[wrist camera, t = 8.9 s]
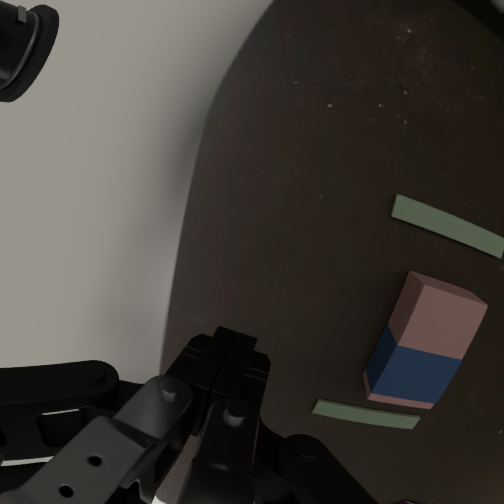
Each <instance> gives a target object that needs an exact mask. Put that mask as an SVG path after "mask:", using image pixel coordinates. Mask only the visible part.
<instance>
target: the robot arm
mask: <svg viewBox="0 0 504 504" xmlns="http://www.w3.org/2000/svg"><path fill="white" fill-rule="evenodd" d="M41 29H42V18H41V16H40V15H39V14H36V13H34V12H29V11H26V8H25V7H22V6H20V5H19V7H16V6H14V5H11V4H9V3H6V2H3V1H0V90H5V89H7V88H8V87H9V86H11V85H12V84H13V83H14V82H15V81H16V79H17V78H18V77H19V76H20V74H21V73H22V71H23V70H24V68H25V67H26V65H27V63H28V61H29V60H30V58H31V56H32V54H33V52H34V50H35V47H36V45H37V42H38V40H39V37H40V33H41ZM237 334H238V335H237ZM256 342H257V338H255V337H252V336H249V335H246V334H243V333H240V332H239V333H238V332H236V331H233V330H230V329H227V328H224V327H221V326H219V327H218V328H217V330H216V331H215V333H214V335H213V336H212V337H210V336H207V335H204V334H200V335H198V336H195V337H193V338H191V340H190V341H189V343H188V344H187V345H186V347H185V348H184V349H183V351H182V352H181V354H180V355H179V356H178V357H177V359H176V360H175V361H174V363H173V364H172V365H171V367H170V368H169V369H168V371H167V372H166V373H165V375H159V376H155V377H153V378H151V379H150V380H148V381H147V382H146V383H145V384H137V383H132V382H127V381H122V380H119V376H118V373H117V371H116V369H115V368H114V367H112V366H111V365H110V364H108V363H105V362H102V361H97V360H89V361H80V362H71V363H62V364H52V365H40V366H28V367H13V368H0V504H151V503H152V501H153V499H154V496H155V494H156V491H157V490H158V488H159V486H160V485H161V483H162V482H163V480H164V479H165V477H166V476H167V474H168V473H169V471H170V469H171V468H172V466H173V465H174V463H175V462H176V460H177V459H178V457H179V455H180V454H181V452H182V450H183V446H184V445H185V444H186V442H187V440H188V438H189V436H190V434H191V435H194V436H196V437H198V435H199V433H200V430H201V434H200V440H199V443H198V446H197V449H196V452H195V455H194V458H193V459H192V461H191V464H190V466H189V469H188V472H187V475H186V478H185V481H184V484H183V487H182V490H181V493H180V496H179V498H178V501H177V504H253V500H254V501H255V503H256V504H378V503H377V502H376V501H375V500H374V499H373V498H372V497H371V496H370V495H369V493H368V492H367V491H366V490H365V489H364V488H363V487H362V486H361V485H360V484H359V483H358V482H357V481H356V480H355V479H354V478H353V476H352V475H351V474H350V473H349V472H348V471H347V470H346V469H345V468H344V467H343V466H342V464H341V463H340V462H339V461H338V460H337V459H336V458H335V457H334V455H333V454H332V453H331V452H330V451H329V450H328V449H327V448H326V446H325V445H324V444H323V443H322V442H320V441H319V440H318V439H316V438H314V437H311V436H308V435H303V434H296V435H291V436H289V437H287V438H284V437H282V436H280V435H278V434H276V433H274V432H273V431H271V430H270V429H268V428H267V427H266V426H265V424H264V423H263V422H262V420H261V417H260V408H261V403H262V399H263V395H264V391H265V387H266V383H267V378H268V374H269V370H270V366H271V363H270V361H269V358H268V356H267V354H263V353H260V352H257V351H254V348H255V345H256ZM73 409H79V411H72V412H64V413H57V414H49V415H42V414H43V413H50V412H59V411H66V410H73ZM201 428H202V429H201ZM51 456H54V457H53V458H52V459H51V460H49V461H48V462H37V463H29V464H21V465H11V466H1V464H2V462H3V461H8V460H23V459H34V458H43V457H51Z"/></svg>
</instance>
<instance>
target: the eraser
mask: <svg viewBox="0 0 504 504" xmlns="http://www.w3.org/2000/svg"><path fill="white" fill-rule="evenodd" d="M487 307H488V305H487V304H485V303H484V302H483V301H482V300H480V299H479V298H478V297H477V296H475V295H474V294H473V293H472V292H470V291H469V290H466V289H464V288H461V287H458V286H455V285H452V284H449V283H446V282H443V281H440V280H437V279H434V278H431V277H428V276H425V275H422V274H419V273H416V272H413V271H409V273H408V276H407V278H406V281H405V283H404V286H403V289H402V291H401V294H400V296H399V299H398V301H397V303H396V306H395V308H394V311H393V313H392V315H391V317H390V320H389V322H388V324H387V325H386V327H385V329H384V331H383V333H382V335H381V338H380V340H379V342H378V344H377V346H376V348H375V350H374V352H373V354H372V356H371V358H370V360H369V362H368V364H367V366H366V368H365V371H364V373H363V378H364V383H365V388H366V393H367V398H368V400H374V401H379V402H385V403H391V404H397V405H403V406H410V407H417V408H425V409H431V407H432V406H433V405H434V404H435V403H436V402H437V401H438V399H439V398H440V396H441V395H442V393H443V392H444V390H445V389H446V387H447V386H448V384H449V382H450V381H451V379H452V378H453V376H454V374H455V373H456V371H457V369H458V368H459V366H460V364H461V362H462V358H463V356H464V354H465V352H466V351H467V349H468V347H469V345H470V343H471V341H472V339H473V337H474V335H475V333H476V331H477V329H478V327H479V325H480V323H481V320H482V318H483V316H484V314H485V312H486V309H487Z"/></svg>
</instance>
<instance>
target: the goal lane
mask: <svg viewBox="0 0 504 504" xmlns="http://www.w3.org/2000/svg"><path fill="white" fill-rule="evenodd" d="M390 216H392V217H394V218H397V219H400V220H403V221H406V222H409V223H412V224H414V225H417V226H420V227H423V228H425V229H428V230H431V231H434V232H436V233H439V234H441V235H444V236H447V237H449V238H452V239H454V240H457V241H459V242H462V243H464V244H467V245H469V246H472V247H474V248H477V249H479V250H481V251H484V252H486V253H488V254H491V255H493V256H495V257H498V258H500V259H501V257H502V253H503V250H504V238H502V237H500V236H498V235H496V234H494V233H491V232H489V231H487V230H485V229H483V228H481V227H478V226H476V225H474V224H472V223H469V222H467V221H465V220H463V219H460V218H458V217H456V216H453V215H451V214H448V213H446V212H443V211H441V210H438V209H436V208H433V207H431V206H428V205H426V204H423V203H421V202H418V201H415V200H413V199H410V198H407V197H404V196H402V195H399V194H396V197H395V200H394V204H393V208H392V211H391V215H390ZM312 413H315V414H319V415H324V416H329V417H334V418H339V419H344V420H350V421H355V422H361V423H368V424H374V425H381V426H389V427H397V428H406V429H413V427H414V426H415V425H416V423H417V422H418V421H419V419H420V416H419V415H410V414H402V413H395V412H388V411H382V410H376V409H370V408H364V407H358V406H353V405H348V404H343V403H338V402H333V401H329V400H324V399H320V398H319V399H318V400H317V402H316V404H315V406H314V408H313V410H312Z"/></svg>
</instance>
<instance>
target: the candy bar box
mask: <svg viewBox="0 0 504 504" xmlns="http://www.w3.org/2000/svg"><path fill="white" fill-rule="evenodd" d="M399 504H418V503H413V502H410V501H403V502H401V503H399Z"/></svg>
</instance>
